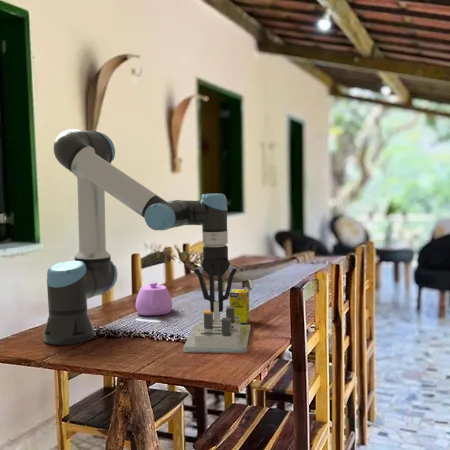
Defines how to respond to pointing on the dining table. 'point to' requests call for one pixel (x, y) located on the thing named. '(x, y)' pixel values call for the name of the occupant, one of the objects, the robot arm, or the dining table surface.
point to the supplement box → (240, 304)
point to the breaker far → (230, 312)
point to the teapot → (153, 300)
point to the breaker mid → (208, 318)
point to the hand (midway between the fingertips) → (217, 322)
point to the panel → (219, 347)
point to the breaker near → (226, 325)
